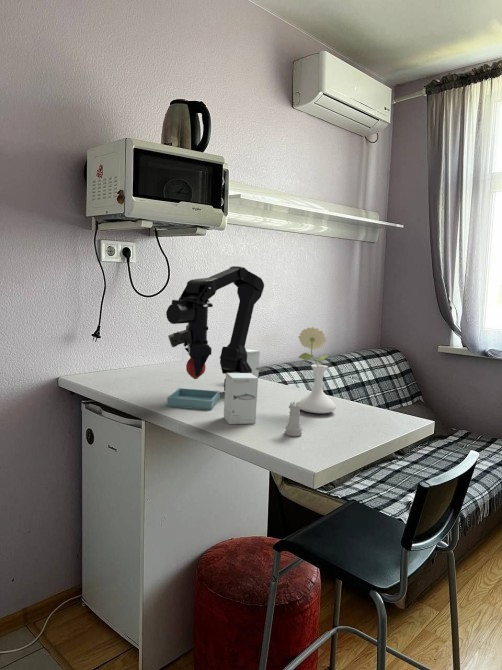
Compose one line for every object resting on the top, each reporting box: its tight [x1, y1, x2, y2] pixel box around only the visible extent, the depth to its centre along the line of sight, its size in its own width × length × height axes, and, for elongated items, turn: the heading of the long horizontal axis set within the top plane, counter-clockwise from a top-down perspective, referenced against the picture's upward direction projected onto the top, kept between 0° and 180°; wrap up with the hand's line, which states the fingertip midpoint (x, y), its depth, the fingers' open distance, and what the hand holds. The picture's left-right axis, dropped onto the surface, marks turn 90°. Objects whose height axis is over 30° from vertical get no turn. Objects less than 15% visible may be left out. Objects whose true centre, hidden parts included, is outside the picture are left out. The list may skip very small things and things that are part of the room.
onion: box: [185, 357, 207, 380], centre depth 158 cm, size 6×6×8 cm
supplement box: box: [223, 373, 259, 425], centre depth 142 cm, size 7×7×13 cm
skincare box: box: [246, 349, 261, 379], centre depth 192 cm, size 6×4×12 cm
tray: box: [166, 387, 221, 411], centre depth 159 cm, size 13×13×3 cm
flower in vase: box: [298, 326, 337, 414], centre depth 156 cm, size 13×11×25 cm
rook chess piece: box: [284, 401, 303, 438], centre depth 133 cm, size 4×4×8 cm
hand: (195, 373), depth 158 cm, fingers closed on onion, 6 cm apart
